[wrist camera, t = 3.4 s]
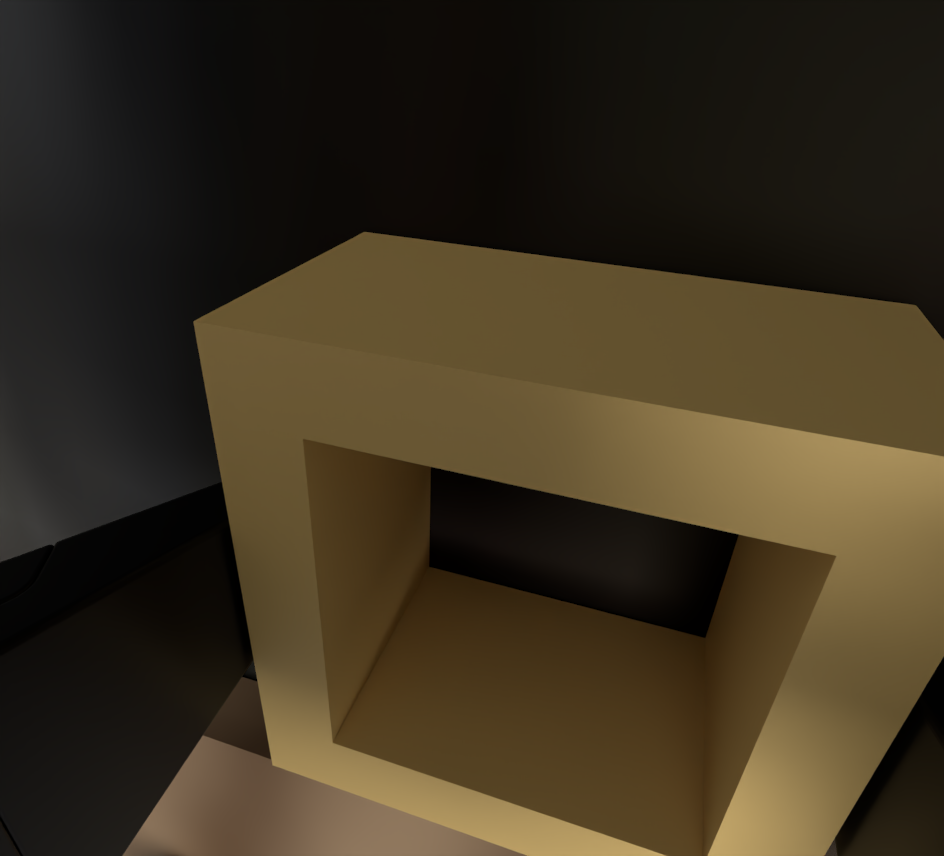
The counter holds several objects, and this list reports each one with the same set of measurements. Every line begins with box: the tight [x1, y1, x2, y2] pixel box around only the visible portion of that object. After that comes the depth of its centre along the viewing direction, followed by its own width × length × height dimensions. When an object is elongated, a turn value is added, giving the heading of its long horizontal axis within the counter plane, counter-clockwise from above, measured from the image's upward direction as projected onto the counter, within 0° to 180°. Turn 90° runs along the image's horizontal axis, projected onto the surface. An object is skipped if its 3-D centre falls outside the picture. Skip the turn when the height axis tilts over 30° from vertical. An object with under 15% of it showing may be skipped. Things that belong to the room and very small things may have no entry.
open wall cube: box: [193, 232, 944, 856], centre depth 8 cm, size 7×7×4 cm
